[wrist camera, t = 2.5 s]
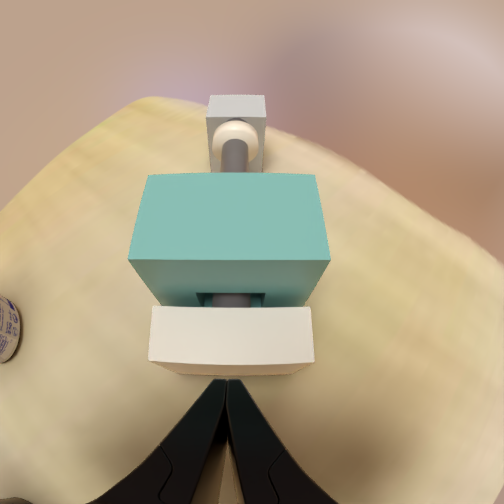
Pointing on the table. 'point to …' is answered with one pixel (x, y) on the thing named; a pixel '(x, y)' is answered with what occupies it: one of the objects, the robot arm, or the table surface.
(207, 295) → the teal block with hole
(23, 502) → the water bottle
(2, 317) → the beverage can
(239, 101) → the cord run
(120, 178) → the table surface
